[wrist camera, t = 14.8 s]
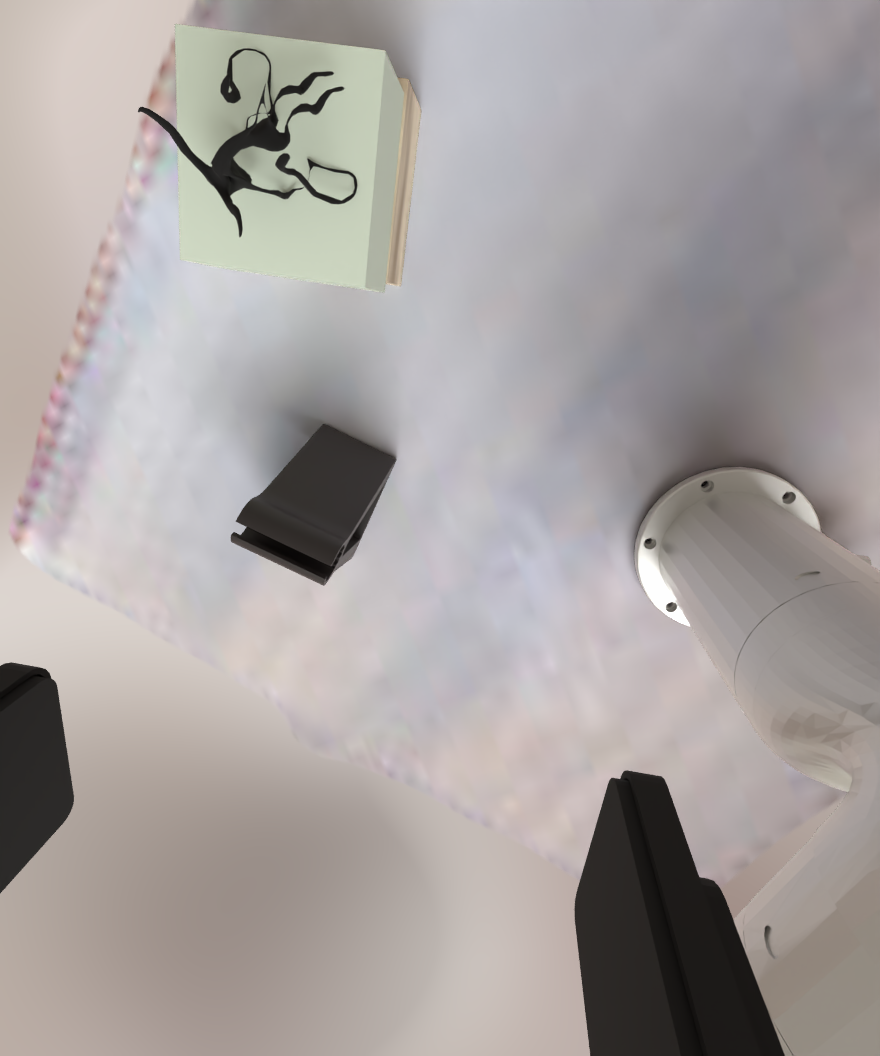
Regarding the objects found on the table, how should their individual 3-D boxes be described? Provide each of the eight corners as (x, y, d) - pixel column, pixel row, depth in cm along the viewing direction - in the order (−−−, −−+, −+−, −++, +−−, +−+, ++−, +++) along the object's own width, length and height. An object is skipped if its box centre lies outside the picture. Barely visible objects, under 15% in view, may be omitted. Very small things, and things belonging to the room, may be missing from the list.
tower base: (422, 112, 34) (408, 78, 30) (401, 286, 38) (387, 281, 33) (265, 90, 35) (228, 53, 30) (260, 263, 38) (226, 255, 34)
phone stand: (325, 422, 41) (257, 458, 30) (397, 458, 42) (357, 507, 30) (285, 523, 45) (210, 590, 33) (353, 556, 45) (301, 633, 34)
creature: (288, 24, 26) (163, 137, 27) (259, -73, 21) (104, 72, 22) (393, 171, 28) (273, 276, 28) (391, 116, 23) (243, 245, 23)
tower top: (404, 93, 30) (385, 50, 25) (384, 292, 33) (365, 287, 29) (225, 70, 30) (174, 23, 26) (224, 268, 34) (179, 259, 29)
